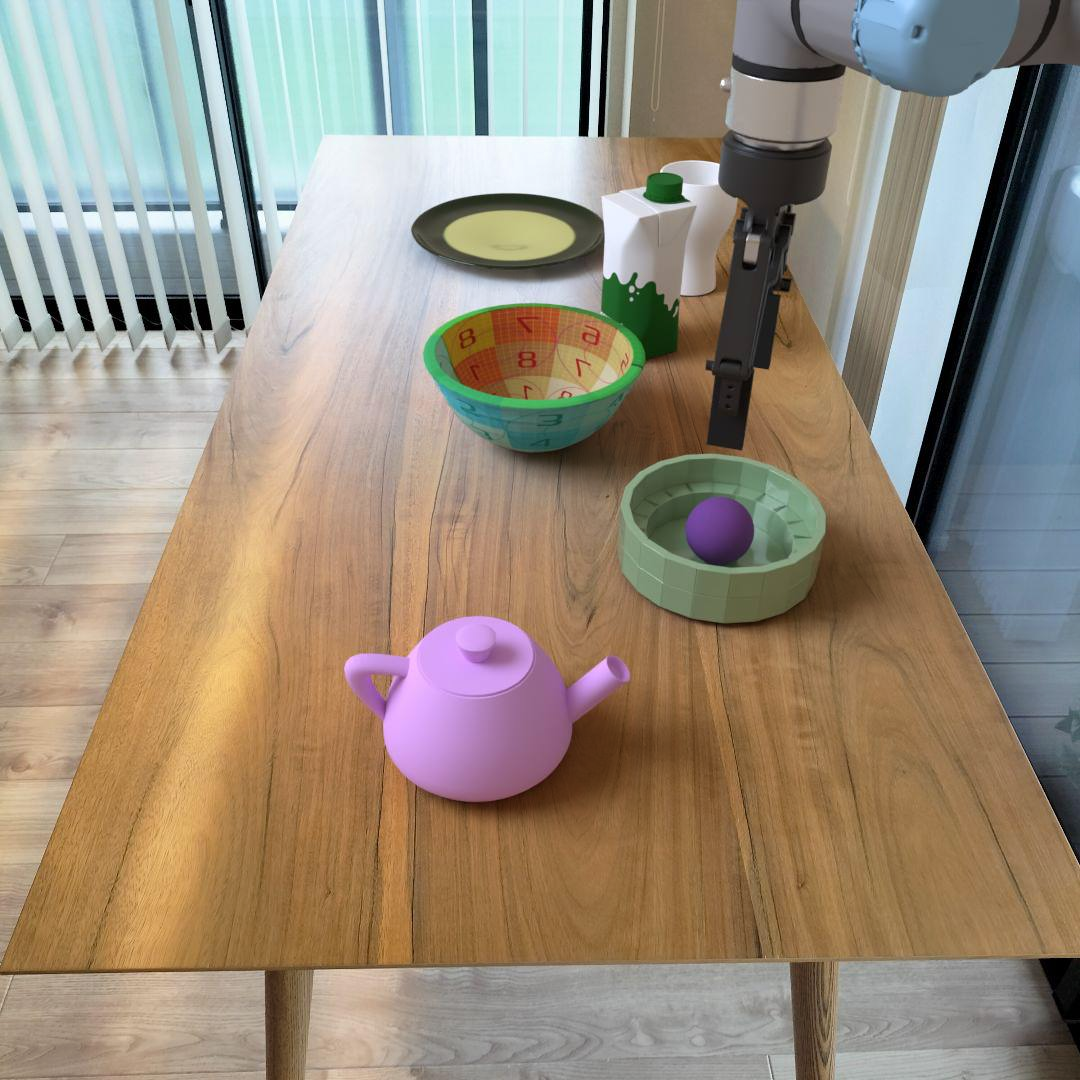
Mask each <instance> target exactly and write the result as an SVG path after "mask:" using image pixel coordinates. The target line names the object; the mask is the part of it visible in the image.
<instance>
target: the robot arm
mask: <svg viewBox="0 0 1080 1080" xmlns="http://www.w3.org/2000/svg"><path fill="white" fill-rule="evenodd" d="M736 1H737V2H736V11H735V12H736V13H735V23H734V32H733V43H732V51H731V52H732V59H731V69H730V76H728V77H727V76H726V77H723V78H722V79H721V81H720V83H719V89H720V90H721V92H724V93H726V94H727V93H728V94H730V97H728V99H727V101H726V102H727V103H726V111H725V112H726V113H725V122H724V123H725V125H726V126H727V128H728V129H729V130H728V131H727V132H726V133H725V134H724V135H723V137H722V139H721V146H720V147H721V148H720V158H719V164H720V165H719V174H718V183H719V186H720V187H721V189H722V190H723V191H724V192H725V193H726V194H728V195H730V196H731V197H733V198H738V199H739V200H740V201H742V202H743V203H744V204H745V205H746V206H742V207H741V211H740V216H739V218H736V219H735V223H734V228H733V233H732V238H733V241H732V243H733V250H732V254H731V259H730V264H729V267H728V268H729V269H728V270H729V276H728V283H727V288H726V294H725V297H724V298H725V299H724V304H723V310H722V315H721V320H720V326H719V331H718V337H717V338H718V339H717V342H716V347H715V348H716V349H715V354H714V359H713V360H709V359H706V361H705V369H704V370H705V371H709V372H711V374H712V376H714V379H713V386H712V387H713V388H712V395H711V403H710V404H711V405H710V412H709V421H708V429H707V437H706V446H714V447H717V448H724V449H729V450H736V451H740V452H742V451H743V448H744V443H745V437H746V430H747V424H748V417H749V411H750V405H751V398H752V391H753V383H754V378H755V377H754V376H755V370H756V369H761V370H768V371H769V370H770V366H771V361H772V354H773V348H774V342H775V336H776V329H777V323H778V317H779V312H780V311H779V310H780V305H781V304H780V303H781V298H782V297H781V296H782V294H778V293H775V292H780V293H787V294H789V293H791V292H790V291H791V288H792V281H793V279H792V278H789V277H784V276H785V273H786V272H787V271H788V264H787V263H788V255H789V249H790V245H791V241H792V236H793V234H794V229H795V225H796V221H797V213H796V212H793V209H794V208H793V207H794V206H800V205H804V204H807V203H812V202H813V201H815V200H817V199H819V198H820V196H822V194H823V193H824V191H825V190H826V185H827V179H828V173H829V167H830V160H831V156H832V149H833V144H832V143H831V142H830V139H829V138H830V137H831V136H832V135H833V134H834V133H835V132H836V130H837V125H838V119H839V113H840V108H841V102H842V96H843V92H844V86H845V80H846V75H847V74H846V73H847V72H846V69H847V68H849V69H851V70H854V71H856V72H858V73H861V74H863V75H866V76H868V77H870V78H872V79H874V80H877V81H878V82H879V83H880V84H881V85H883V86H889V87H890V88H891V89H893V90H895V91H899V92H902V93H909V92H911V93H914V94H918V95H923V96H926V97H929V98H930V97H931V98H946V97H952V96H955V95H959V94H961V93H963V92H964V91H966V90H968V89H969V87H971V86H972V85H973V84H974V83H976V82H977V81H979V80H981V79H983V78H985V77H986V76H988V75H989V74H990V73H991V72H992V71H994V70H1000V69H1010V68H1014V67H1023V66H1033V65H1034V66H1035V65H1037V66H1038V65H1046V64H1051V65H1053V64H1058V65H1059V64H1061V65H1069V66H1070V65H1071V66H1077V67H1080V0H736ZM755 368H756V369H755Z"/></svg>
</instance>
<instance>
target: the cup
mask: <svg viewBox="0 0 1080 1080" xmlns="http://www.w3.org/2000/svg"><path fill="white" fill-rule="evenodd" d="M719 165H720V163H717V162H713V161H706V160H679V161H674V162H671V163H668V164H665V165H663V166H662V168H661V169H660V172H659V173H673V174H676V175H679V176H681V177H682V178H683V188H682V195H683V196H684V197H685V199H688V200H690V202H691V203H694V204H695V205H696V206H697V207H696V210H695V213H694V216H693V220H692V223H691V226H690V229H689V232H688V236H687V240H686V246H685V256H684V265H683V275H682V285H681V294H680V296H688V297H692V296H693V297H696V296H703V295H707V294H709V293H711V292H712V291H714V290H715V289H716V287H717V277H716V275H717V273H716V258H717V255H718V250H719V247H720V243H721V242H722V240H723V238H725V237H724V236H725V235H726V233H727V232H728V231H729V229H730V227H731V226H732V222H733V220H734V218H735V215H736V213H737V208H738V201H739V200H738V198H733V197H731V196H730V195H728V194H726V193H725V192H724V191H723V190H722V189H721V187H720V186H719V183H718V174H719Z"/></svg>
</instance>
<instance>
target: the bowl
mask: <svg viewBox="0 0 1080 1080" xmlns="http://www.w3.org/2000/svg"><path fill="white" fill-rule="evenodd" d="M422 359H423V363H424V366H425V369H426V370H427V372H428V374H429V375H430V376H431V378H432V379H433V382H434V384H435V386H436V388H437V389H438V390H439V391H440V393H441V394H442V396H443V398H444V400H445V403H446V404H447V405H448V407H449V408H450V409H451V411H452V412H453V413H454V414H455V415H456V417H457V418H458V419H459V421H460V422H462V424H463V425H465V427H467V428H468V429H469V430H471V431H472V432H473V433H475V434H476V435H477V436H478V437H480V438H482V439H484V440H486V441H488V442H490V443H492V444H494V445H497V446H498V447H501V448H504V449H508V450H511V451H516V452H522V453H528V454H529V453H531V454H535V453H544V452H553V451H557V450H561V449H564V448H565V449H566V448H568V447H570V446H573V445H575V444H577V443H579V442H581V441H584V440H585V439H587V438H589V437H590V436H591V435H593V434H595V432H597V431H598V430H599V429H601V428H602V427H603V426H604V425H605V424H606V423H607V422H608V421H609V420H610V419H611V418H612V417H613V416H614V414H615V413H616V412H617V411H618V409H619V408H620V406H621V405H622V403H623V401H624V399H625V398H626V396H627V395H628V394H629V393H630V392H631V390H632V389H633V387H634V385H635V382H636V381H637V380H638V378H639V377H640V376H641V374H642V372H643V371H644V367H645V364H646V359H645V351H644V348H643V346H642V343H641V342H640V341H639V339H638V338H637V337H636V335H634V334H633V333H632V332H631V331H630V330H629V329H628V328H626V327H625V326H623V325H621V324H620V323H618V322H616V321H614V320H612V319H610V318H608V317H606V316H603V315H600V313H598V312H595V311H591V310H588V309H584V308H581V307H574V306H569V305H563V304H554V303H544V302H543V303H541V302H540V303H539V302H538V303H537V302H526V303H525V302H523V303H521V302H520V303H519V302H518V303H508V304H507V303H506V304H500V305H493V306H488V307H483V308H479V309H475V310H473V311H469V312H466V313H463V314H461V315H458V316H456V317H454V318H452V319H449V320H448V321H446V322H445V323H443V324H442V325H440V326H439V327H438V328H437V329H436V330H435V331H433V333H431V334H430V335H429V337H428V339H427V340H426V342H425V344H424V347H423V351H422Z"/></svg>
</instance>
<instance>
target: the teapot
mask: <svg viewBox="0 0 1080 1080" xmlns="http://www.w3.org/2000/svg"><path fill="white" fill-rule="evenodd" d="M343 671H344V676H345V680H346V682H347V684H348V686H349V688H350V689H351V690H352V693H354V695H356V697H357V698H358V699H359V700H360V701H361V702H362V703H363V704H364V705H365V706H366V707H367V708H368V709H369V710H370V711H371V712H373V714H374V715H376V716H377V717H378V718H379V719H380V720H381V721H382V729H383V731H382V733H383V741H384V745H385V748H386V751H387V754H388V755H389V757H390V760H391V761H392V763H393V764H394V765H395V767H396V768H397V769H398V771H399V772H400V773H401V774H402V775H403V776H404V777H405V778H406V779H407V780H408V781H410V783H412V784H414V785H415V786H416V787H419V788H420V789H422V790H424V791H426V792H428V793H430V794H433V795H436V796H438V797H441V798H443V799H444V798H445V799H448V800H453V801H458V802H459V801H460V802H466V803H468V802H469V803H483V802H484V803H485V802H492V801H498V800H503V799H506V798H507V799H508V798H510V797H513V796H516V795H519V794H521V793H523V792H525V791H528V790H530V789H532V788H533V787H535V786H537V785H539V784H540V783H541V782H542V781H544V780H545V779H547V777H548V776H549V775H550V774H552V773H553V772H554V771H555V770H556V768H557V767H558V766H559V764H560V763H561V762H562V760H563V758H564V757H565V755H566V753H567V751H568V749H569V747H570V743H571V740H572V736H573V735H572V734H573V724H574V723H575V722H577V721H578V720H579V719H580V718H581V717H583V716H584V715H586V714H587V713H588V712H590V711H591V710H592V709H593V708H595V707H596V706H598V705H599V704H600V703H601V702H603V701H604V700H605V699H607V698H608V697H610V696H611V695H612V694H614V692H616V691H617V690H619V689H620V688H621V687H623V686H624V685H626V684H627V683H628V682H629V681H630V680H631V672H630V670H629V668H628V666H627V665H626V663H625V662H624V661H623V660H622V659H621V658H620V657H618V656H616V655H614V654H610V655H608V656H606V657H605V658H604V659H603V660H602V661H600V662H599V663H597V665H596V666H594V667H593V668H592V669H590V670H589V671H588V672H587V673H586V674H584V675H583V676H582V677H581V678H579V679H578V680H576V681H575V682H574V683H573V684H572V685H570V686H569V687H566V684H565V681H564V679H563V677H562V675H561V673H560V672H559V671H560V670H559V669H558V667H557V666H556V664H555V663H554V661H553V660H552V659H551V658H550V656H549V655H548V653H547V652H546V650H544V649H543V648H542V647H541V645H540V644H539V643H537V641H536V640H535V639H533V637H532V636H530V634H528V633H527V632H526V631H524V630H523V629H521V627H519V626H517V625H515V624H514V623H512V622H510V621H508V620H504V619H501V618H498V617H492V616H481V615H475V616H472V615H471V616H465V617H464V616H463V617H458V618H455V619H451V620H448V621H446V622H444V623H441V624H439V625H438V626H436V627H435V628H434V629H432V630H431V631H429V632H428V633H427V634H426V635H425V636H424V637H423V638H421V640H419V641H418V643H417V644H416V645H415V646H414V647H413V648H412V650H411V651H410V652H409V654H408V655H407V656H406V657H405V656H400V655H394V654H384V653H369V652H367V653H358V654H355V655H353V656H350V658H348V659H347V660H346V662H345V664H344V669H343ZM371 675H388V676H394V677H393V679H392V681H391V684H390V687H389V689H388V692H387V695H386V699H385V698H384V697H383V696H382V694H381V693H380V692H379V690H378V689H377V687H376V686H375V684H374V682H373V680H372V678H371Z"/></svg>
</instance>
